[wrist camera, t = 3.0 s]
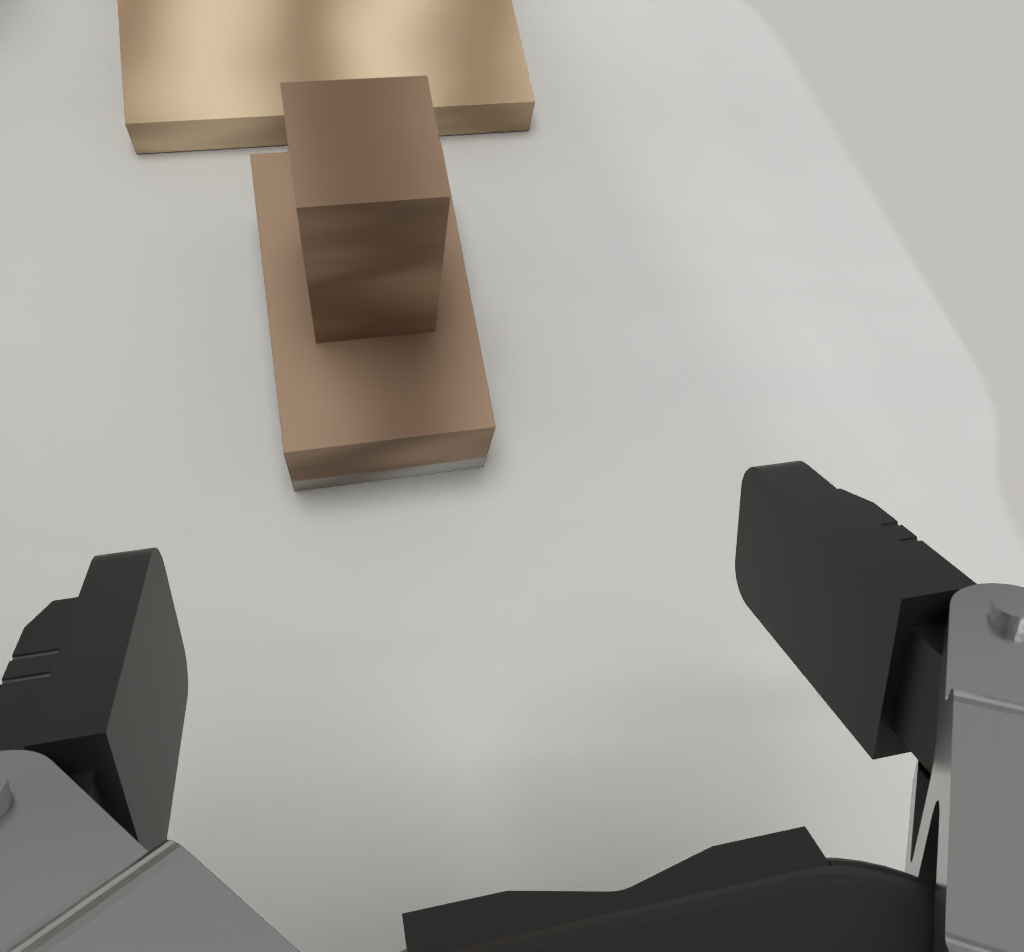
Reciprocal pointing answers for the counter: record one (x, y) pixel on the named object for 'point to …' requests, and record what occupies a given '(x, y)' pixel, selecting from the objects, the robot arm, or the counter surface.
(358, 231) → the block
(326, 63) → the oak board
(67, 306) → the counter surface
